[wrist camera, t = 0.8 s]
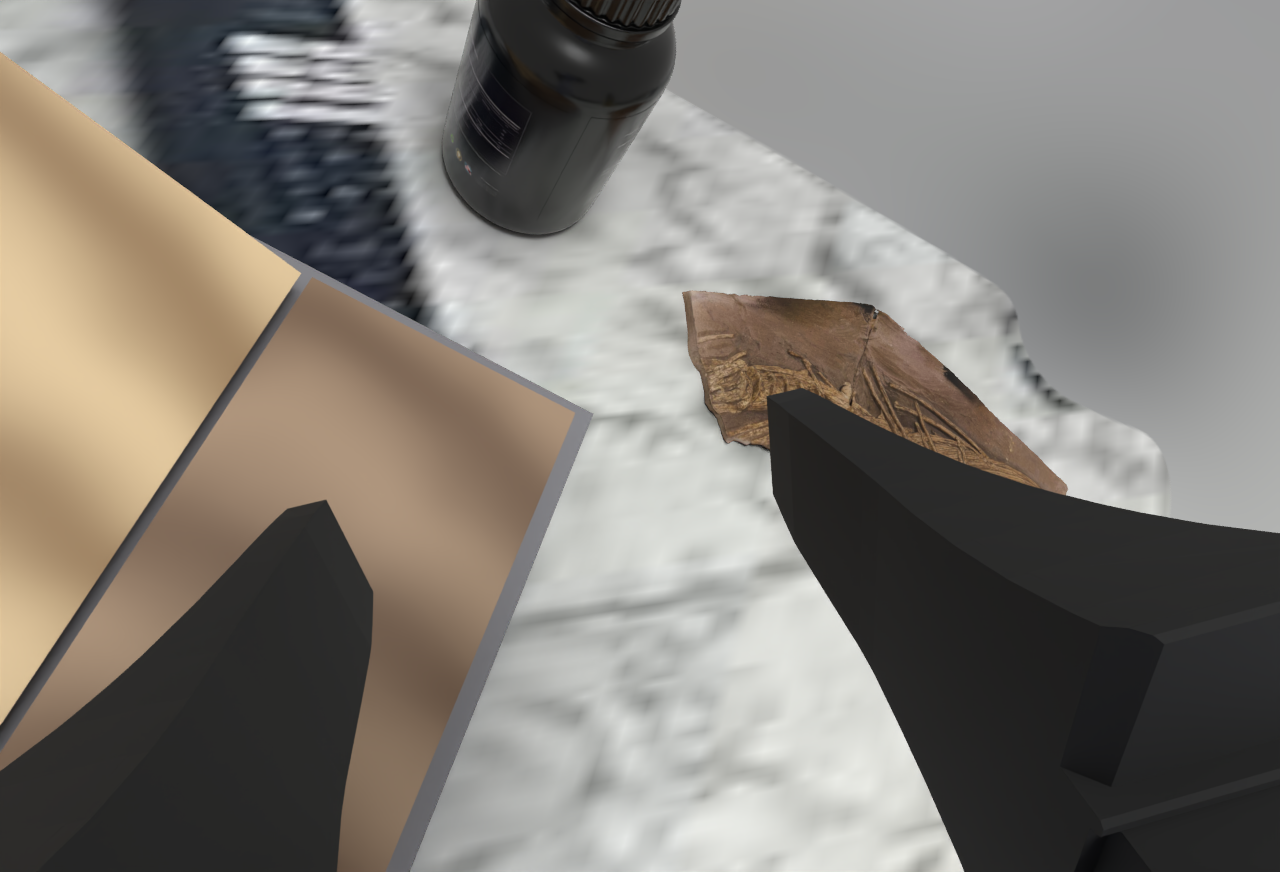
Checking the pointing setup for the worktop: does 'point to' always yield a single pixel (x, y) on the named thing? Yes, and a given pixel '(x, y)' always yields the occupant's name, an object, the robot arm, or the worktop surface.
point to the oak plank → (100, 350)
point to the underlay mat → (497, 624)
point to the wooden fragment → (844, 378)
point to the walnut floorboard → (346, 530)
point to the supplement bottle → (552, 103)
